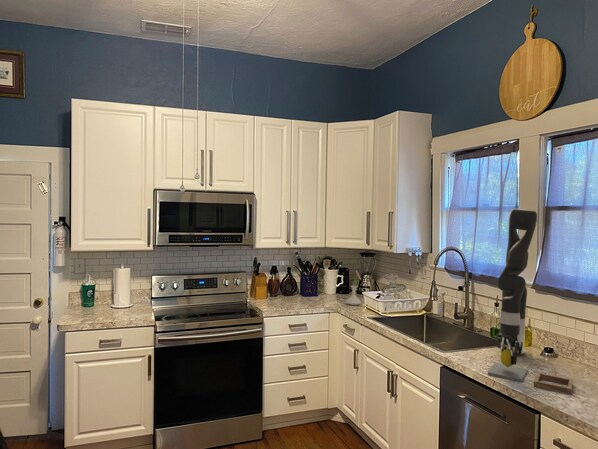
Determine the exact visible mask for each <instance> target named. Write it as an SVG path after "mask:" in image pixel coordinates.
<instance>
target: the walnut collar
mask: <svg viewBox="0 0 598 449" xmlns="http://www.w3.org/2000/svg"><path fill="white" fill-rule="evenodd" d="M540 380H543V381H540ZM544 381H549V382H553V383H559V384H564V385H567V386H562V385H558V384H553V383H549V382H544ZM573 382H574V379H571V378H567V377H563V376H562V377H561V376H556V375H551V374H546V373H541V372H537V373H536V376H535V377H534V381H533V387H534V388H535V387H536V388H539V389H544V390H548V389H549V391H553V392H557V391H558V392H559V393H562V392H563V393H564V394H567V395H572V392H573Z"/></svg>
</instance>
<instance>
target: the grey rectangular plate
mask: <svg viewBox="0 0 598 449" xmlns="http://www.w3.org/2000/svg"><path fill="white" fill-rule="evenodd" d="M528 370H529V369H528V368H524V367H521V366H520V367H519V366H515V365H512V366H509V367H506V366H505V365H504V364H503V363H500V362H494V363H493V365H492V366H490V369H489V370H488V371H487V375H488V376H492V377H496V378H502V379H507V380H512V381H515V382H520V383H523V382H524V379H525V377H526V375H527V373H528Z"/></svg>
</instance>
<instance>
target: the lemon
mask: <svg viewBox="0 0 598 449" xmlns="http://www.w3.org/2000/svg"><path fill="white" fill-rule="evenodd" d="M500 361H501V364H504V365H505V366H506V367H509V366H513V365H512V364H511V352H510V350H509V349H505V350H503V351H502V353H501V352H500Z"/></svg>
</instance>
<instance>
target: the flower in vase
mask: <svg viewBox="0 0 598 449" xmlns="http://www.w3.org/2000/svg"><path fill="white" fill-rule="evenodd" d="M355 273H356V276H355V279H354V281H353V282H352V284H353V285H350V287H351V290H352V291H351V292H352V293H351V296H350V297H349V298H347V299H346V300H345V303H346V304H347V305H349V306H359V305H361V304H362V301H361V299H360V298H358V297H357V296H356V290H357V288H358V285H355V284H357V281H356V279H358V280H359V281H361V280H362V278H361V275H360V274H359V272H358V270H355ZM357 277H358V278H357Z"/></svg>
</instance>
